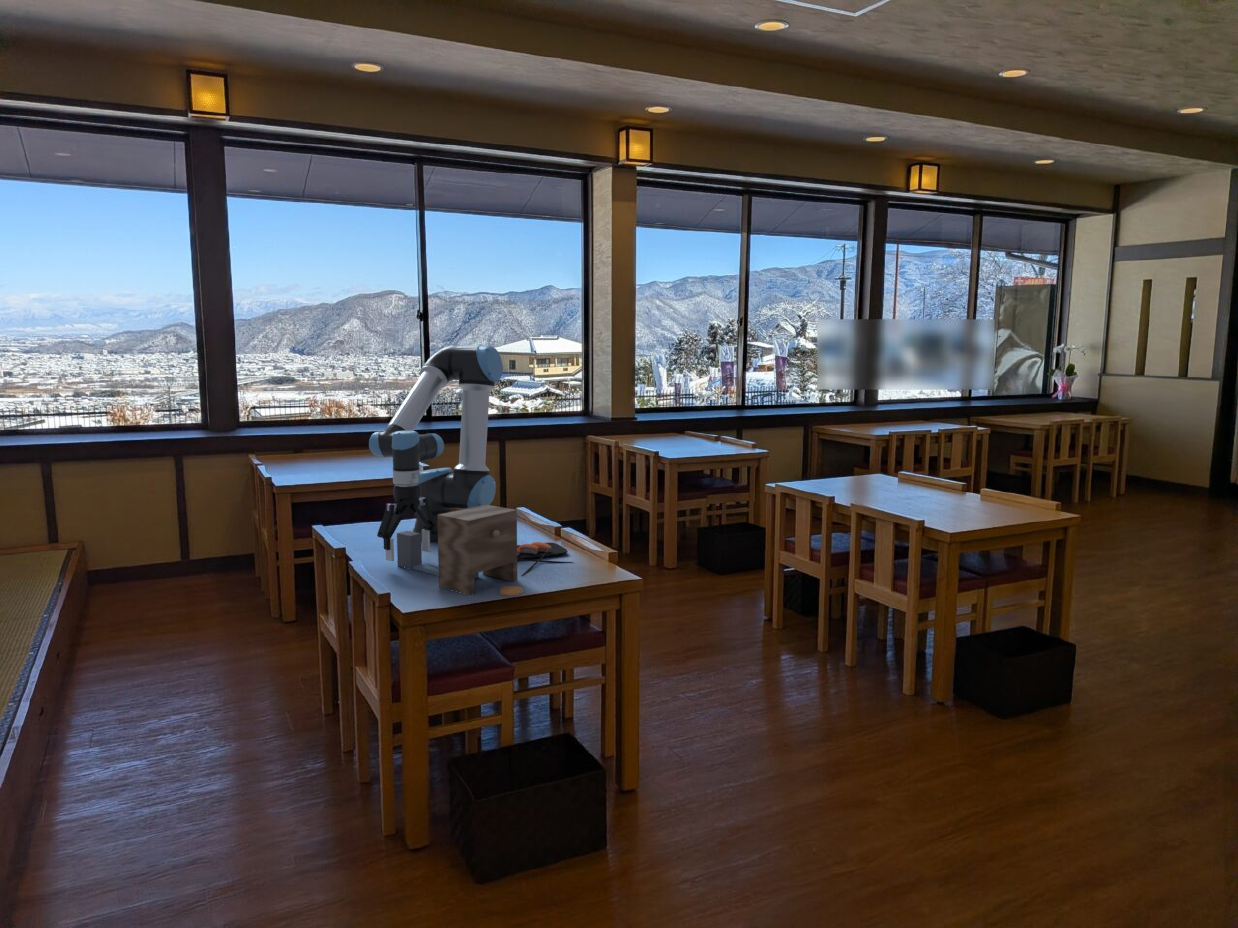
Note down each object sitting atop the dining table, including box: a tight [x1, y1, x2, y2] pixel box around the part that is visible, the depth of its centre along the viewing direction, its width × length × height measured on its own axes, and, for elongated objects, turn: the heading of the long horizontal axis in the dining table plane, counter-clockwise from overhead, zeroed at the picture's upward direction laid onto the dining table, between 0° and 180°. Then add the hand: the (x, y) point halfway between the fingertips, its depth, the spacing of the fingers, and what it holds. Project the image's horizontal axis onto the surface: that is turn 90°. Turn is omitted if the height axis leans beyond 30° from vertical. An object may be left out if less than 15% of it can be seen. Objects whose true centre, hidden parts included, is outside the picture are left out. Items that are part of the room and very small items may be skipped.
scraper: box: [396, 530, 480, 580], centre depth 244 cm, size 27×9×10 cm, turn 54°
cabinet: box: [437, 504, 518, 596], centre depth 233 cm, size 13×18×20 cm
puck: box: [499, 585, 524, 596], centre depth 227 cm, size 6×6×1 cm
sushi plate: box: [517, 541, 574, 577], centre depth 258 cm, size 29×30×4 cm
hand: (408, 555), depth 251 cm, fingers open, 13 cm apart
